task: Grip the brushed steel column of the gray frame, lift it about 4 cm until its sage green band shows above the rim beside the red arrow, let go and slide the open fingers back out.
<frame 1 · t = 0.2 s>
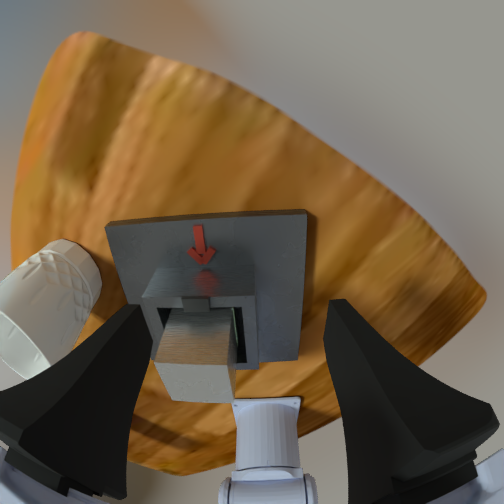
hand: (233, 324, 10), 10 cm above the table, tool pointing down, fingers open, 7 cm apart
gray frame: (212, 297, 22), on the table
white cup: (73, 270, 21), on the table
steel column: (203, 341, 17), point 5 cm above the table, slide at 0.0 cm
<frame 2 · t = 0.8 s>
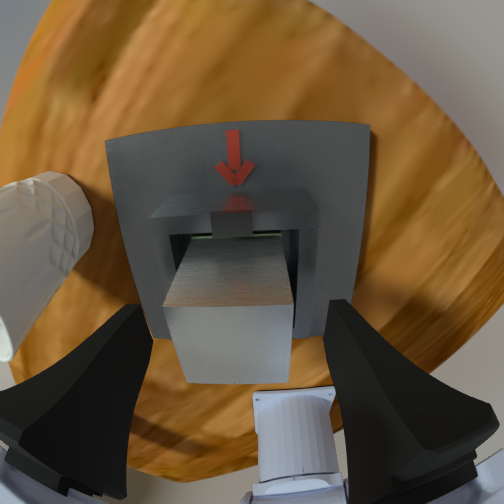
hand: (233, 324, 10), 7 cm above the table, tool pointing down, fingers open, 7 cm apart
gray frame: (241, 242, 16), on the table
white cup: (59, 216, 16), on the table
steel column: (237, 290, 12), point 5 cm above the table, slide at 0.0 cm
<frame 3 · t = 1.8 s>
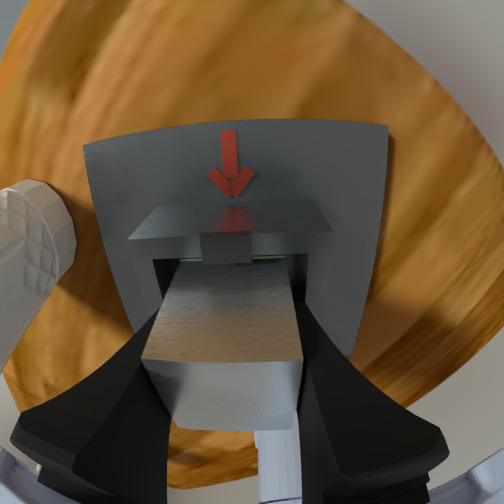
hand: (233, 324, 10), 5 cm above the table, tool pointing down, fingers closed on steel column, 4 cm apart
gray frame: (239, 260, 14), on the table
white cup: (41, 227, 14), on the table
steel column: (233, 322, 10), point 5 cm above the table, slide at 0.0 cm, touching gripper
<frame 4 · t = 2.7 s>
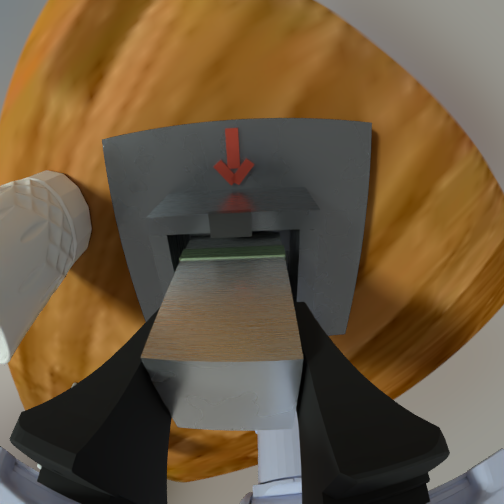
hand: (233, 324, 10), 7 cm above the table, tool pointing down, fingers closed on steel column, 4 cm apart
gray frame: (240, 242, 16), on the table
white cup: (56, 215, 15), on the table
steel column: (233, 322, 10), point 7 cm above the table, slide at 1.9 cm, touching gripper
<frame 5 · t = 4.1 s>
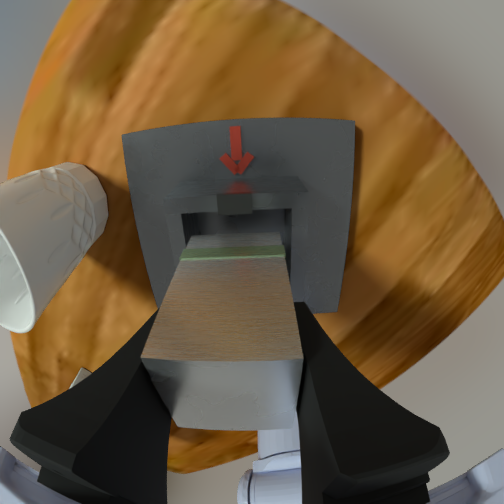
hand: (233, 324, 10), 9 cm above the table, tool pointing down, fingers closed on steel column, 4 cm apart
gray frame: (242, 226, 18), on the table
white cup: (75, 203, 18), on the table
steel column: (233, 322, 10), point 9 cm above the table, slide at 4.5 cm, touching gripper
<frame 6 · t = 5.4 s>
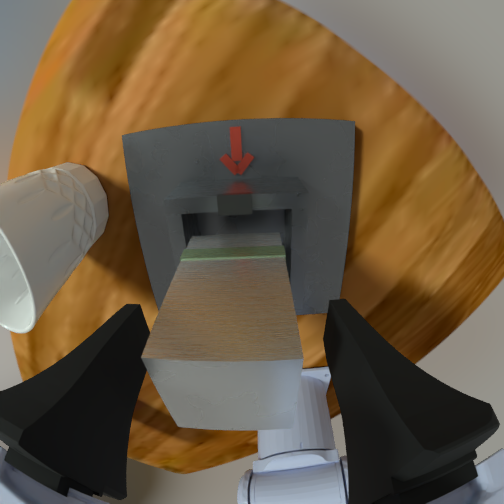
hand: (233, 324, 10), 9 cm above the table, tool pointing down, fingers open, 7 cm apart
gray frame: (242, 226, 18), on the table
white cup: (75, 204, 18), on the table
steel column: (233, 322, 10), point 9 cm above the table, slide at 4.5 cm
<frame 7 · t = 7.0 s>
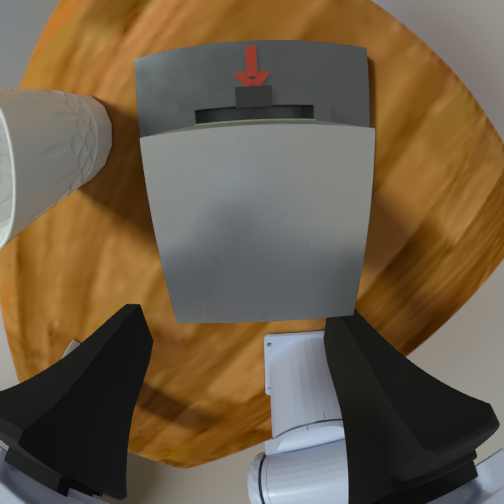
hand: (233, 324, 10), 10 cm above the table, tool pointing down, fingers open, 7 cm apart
gray frame: (256, 150, 16), on the table
white cup: (77, 138, 16), on the table
steel column: (259, 187, 8), point 9 cm above the table, slide at 4.5 cm
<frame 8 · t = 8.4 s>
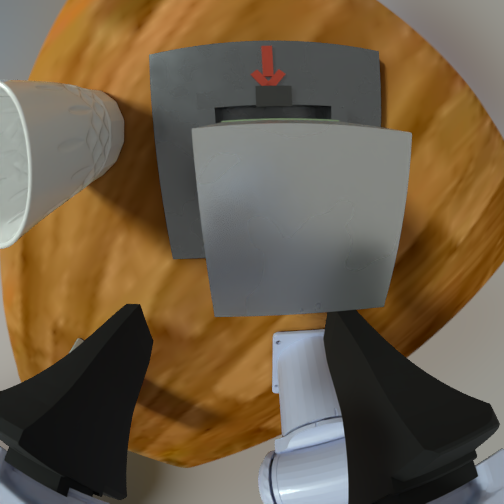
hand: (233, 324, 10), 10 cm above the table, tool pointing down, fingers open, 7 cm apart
gray frame: (270, 149, 16), on the table
white cup: (87, 134, 16), on the table
steel column: (287, 184, 8), point 9 cm above the table, slide at 4.5 cm
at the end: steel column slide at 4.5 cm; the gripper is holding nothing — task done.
